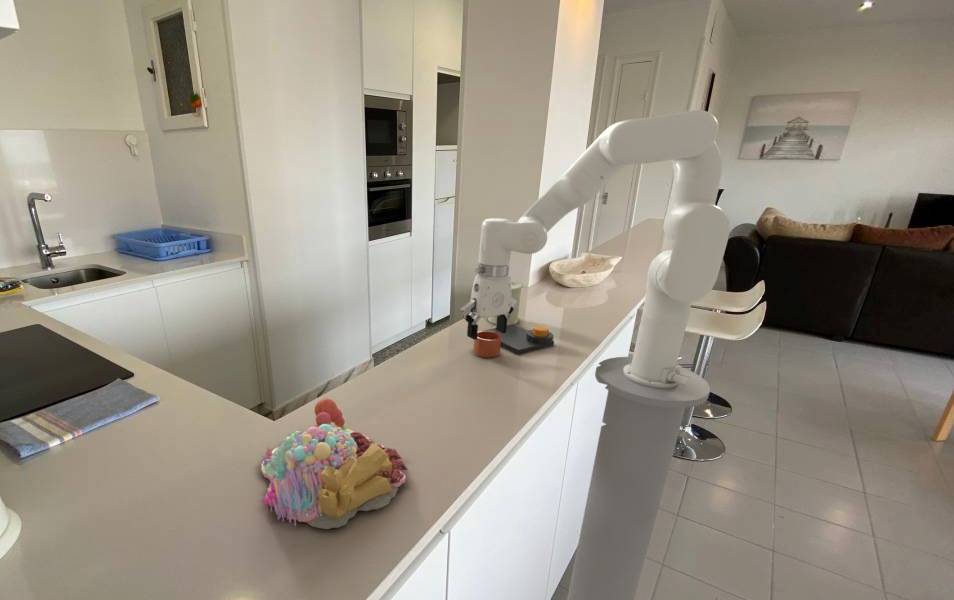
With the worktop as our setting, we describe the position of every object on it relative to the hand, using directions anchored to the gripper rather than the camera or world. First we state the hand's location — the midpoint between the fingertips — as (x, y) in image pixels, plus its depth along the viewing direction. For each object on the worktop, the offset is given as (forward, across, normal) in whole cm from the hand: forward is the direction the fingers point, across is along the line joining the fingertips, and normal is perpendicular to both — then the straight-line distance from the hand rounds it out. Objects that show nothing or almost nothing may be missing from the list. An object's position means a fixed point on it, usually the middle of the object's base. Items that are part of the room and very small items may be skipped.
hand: (486, 334), depth 124 cm
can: (+5, +22, +18) cm, 29 cm away
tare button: (+2, +17, -2) cm, 18 cm away
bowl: (+5, 0, 0) cm, 5 cm away
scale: (+5, +13, +3) cm, 14 cm away
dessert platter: (+6, -56, -28) cm, 63 cm away
